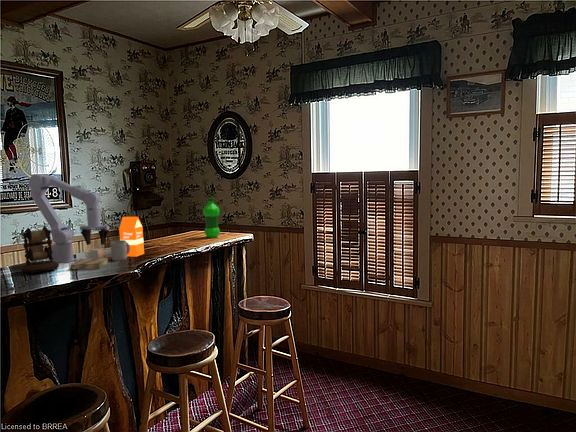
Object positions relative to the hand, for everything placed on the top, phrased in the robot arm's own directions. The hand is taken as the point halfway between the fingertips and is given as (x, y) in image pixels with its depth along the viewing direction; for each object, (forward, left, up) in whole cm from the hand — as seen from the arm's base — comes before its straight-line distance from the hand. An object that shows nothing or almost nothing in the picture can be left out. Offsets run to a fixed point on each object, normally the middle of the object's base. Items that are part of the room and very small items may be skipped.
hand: (95, 244), depth 210 cm
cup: (+11, +4, -8) cm, 14 cm away
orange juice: (+12, +13, -8) cm, 19 cm away
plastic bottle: (+37, +67, -8) cm, 77 cm away
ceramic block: (0, 0, -8) cm, 8 cm away
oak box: (+5, -13, -8) cm, 16 cm away
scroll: (-13, -23, -8) cm, 27 cm away
